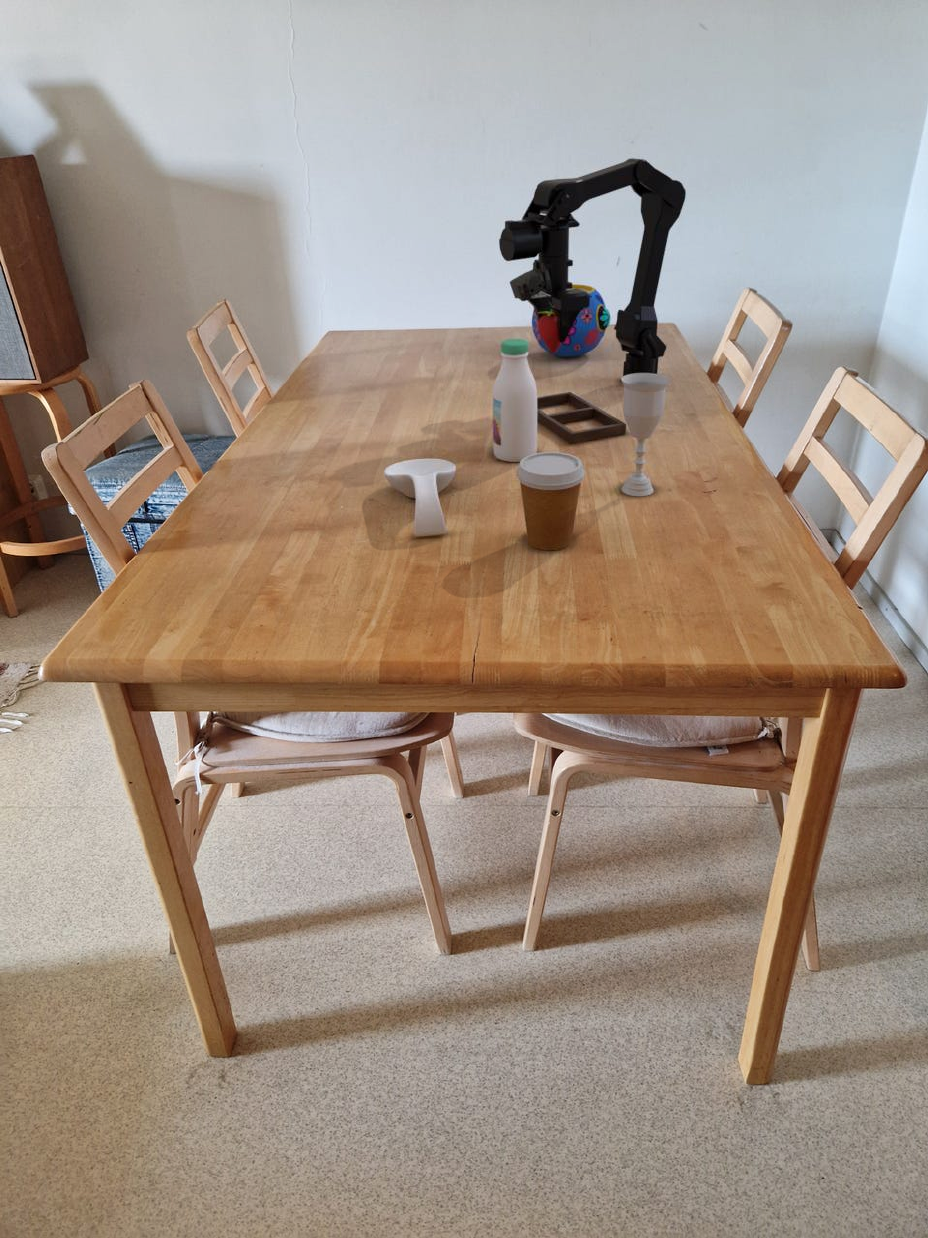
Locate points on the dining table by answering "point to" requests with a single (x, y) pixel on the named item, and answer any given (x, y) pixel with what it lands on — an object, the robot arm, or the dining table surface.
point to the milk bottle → (514, 404)
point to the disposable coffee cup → (550, 497)
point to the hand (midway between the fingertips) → (552, 337)
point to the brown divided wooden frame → (577, 419)
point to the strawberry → (549, 330)
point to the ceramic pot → (581, 326)
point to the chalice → (642, 421)
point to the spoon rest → (423, 490)
